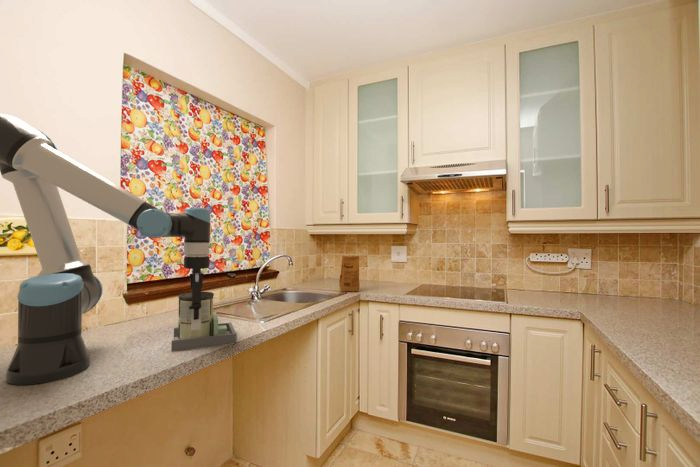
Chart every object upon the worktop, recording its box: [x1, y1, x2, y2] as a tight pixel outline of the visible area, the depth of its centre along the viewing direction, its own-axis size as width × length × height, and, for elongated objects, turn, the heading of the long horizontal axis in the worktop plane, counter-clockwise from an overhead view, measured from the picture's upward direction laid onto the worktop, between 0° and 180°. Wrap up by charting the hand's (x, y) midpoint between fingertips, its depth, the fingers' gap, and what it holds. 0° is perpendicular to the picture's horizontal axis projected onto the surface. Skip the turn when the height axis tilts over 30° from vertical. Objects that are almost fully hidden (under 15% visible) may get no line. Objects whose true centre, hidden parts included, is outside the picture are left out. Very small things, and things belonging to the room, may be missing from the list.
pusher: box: [213, 311, 227, 335], centre depth 109 cm, size 4×12×7 cm, turn 26°
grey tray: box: [170, 322, 237, 352], centre depth 107 cm, size 18×15×3 cm
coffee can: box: [177, 291, 215, 339], centre depth 106 cm, size 10×10×14 cm
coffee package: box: [339, 255, 360, 292], centre depth 206 cm, size 10×12×22 cm
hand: (195, 325), depth 106 cm, fingers closed on coffee can, 10 cm apart
